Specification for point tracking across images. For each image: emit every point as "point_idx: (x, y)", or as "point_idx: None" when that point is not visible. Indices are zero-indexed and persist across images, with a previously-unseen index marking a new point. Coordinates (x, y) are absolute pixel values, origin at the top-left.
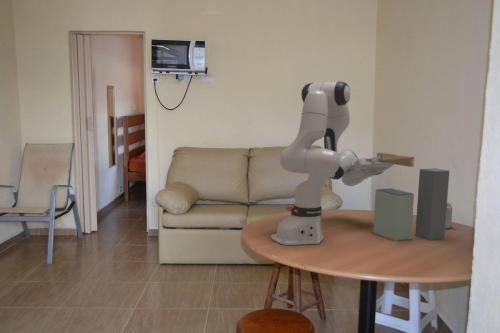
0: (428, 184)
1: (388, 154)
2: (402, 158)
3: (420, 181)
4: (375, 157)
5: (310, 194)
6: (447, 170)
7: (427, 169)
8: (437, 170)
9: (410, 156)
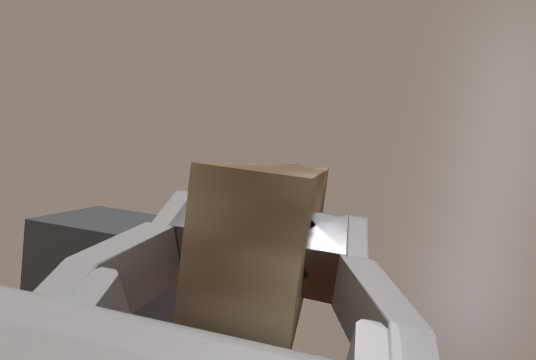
0: (167, 296)
1: (323, 174)
2: (325, 184)
3: (138, 311)
4: (382, 281)
5: None
6: (100, 207)
7: (127, 227)
8: (137, 216)
9: (293, 164)
